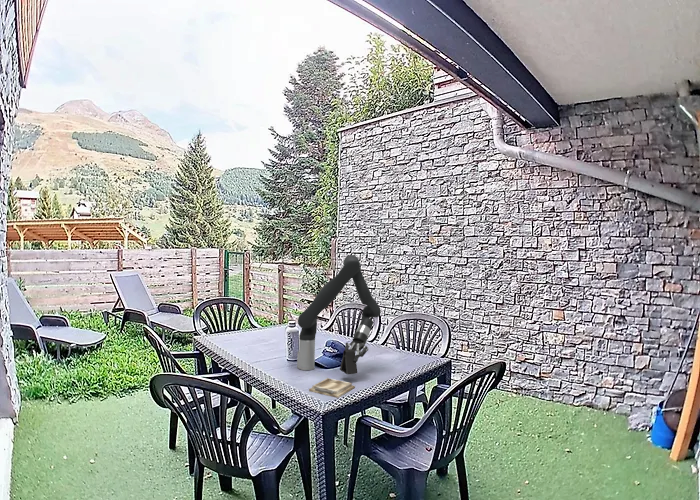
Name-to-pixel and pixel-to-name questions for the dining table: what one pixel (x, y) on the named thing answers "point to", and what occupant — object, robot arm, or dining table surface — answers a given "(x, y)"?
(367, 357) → the dining table surface
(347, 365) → the black tent sign
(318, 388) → the spacer board
